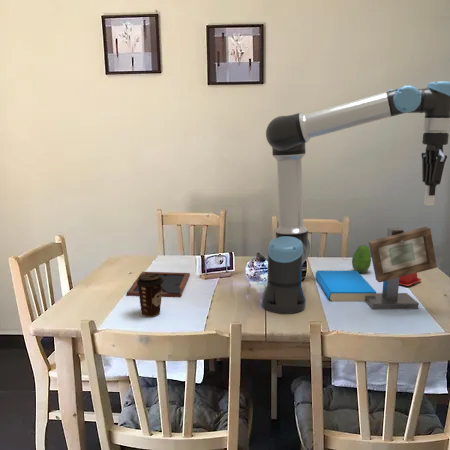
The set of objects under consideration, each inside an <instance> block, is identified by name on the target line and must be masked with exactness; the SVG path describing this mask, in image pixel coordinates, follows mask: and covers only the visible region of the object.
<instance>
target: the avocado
mask: <svg viewBox="0 0 450 450" xmlns="http://www.w3.org/2000/svg"><path fill="white" fill-rule="evenodd" d="M371 263H372V257H371V252H370V247H369V246H367V245H365V244H362V245H358V247H357V248H356V250H355V252H354V253H353V255H352V259H351V265H352V269H353V271H358V272H359V274H360V273H361V274H362V273H366V272H367V271H368V270H369V269H370V267H371Z"/></svg>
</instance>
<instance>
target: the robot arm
mask: <svg viewBox="0 0 450 450" xmlns="http://www.w3.org/2000/svg"><path fill="white" fill-rule="evenodd" d="M403 114H424V119H423V129H422V130H423V131H424V133H422V145H426V147H425V152H422V153H421V155H420V156H421V160H422V161H421V162H422V163H421V165H422V166H421V167H422V168H421V171H422V172H421V173H422V179H421V180H422V183H424V185H425V187H424V188H425V189H424V199H423V206H435V199H436V191H437V186H438V185H440V184H441V181H442V177H443V172H444V167H445V163H446V162H447V158H448V156H447V154H444V146H446V145H448V144H449V135H450V134H449V133H448V132H449V131H450V81H442V80H441V81H430V82H428V84H427V87H425V88H417V87H415V85H409V84H407V85H403V86H400V87H398V88H393V89H392V88H391V89H388V90H387V91H385V92H381V93H376V94H374V95H371V96H367V97H363V98H361V99H357V100H352V101H349V102H345V103H342V104H339V105H335V106H330V107H327V108H325V109H321V110H317V111H313V112H310V113H307V114H304V113H302V112H298V113H294V114H289V115H288V114H287V115H279V116H277V117H275V118H273V119H271V121H270V122H269V123H268V125H267V126H266V130H265V138H266V142H267V143H268V145H270V147H271V150H272V152H271V153H272V157H273V158H274V159H275V160H276V165H277V167H276V168H277V188H278V210H279V211H278V215H279V226H278V227H277V228H276V230H275V237H274V238H272V239H271V240H270V241H269V244H268V248H267V284H266V286H265V288H264V291H263V295H262V297H261V306H262V307H263V309H265V310H267V311H269V312H271V313H276V314H284V313H289V314H296V313H295V312H297V313H300V312H302V311H304V310H305V309H306V305H307V304H306V303H307V302H306V298H305V295H304V289H303V286H302V275H303V274H302V273H303V265H304V263H305V261H306V260H307V259H308V257H309V255H310V252H311V243H310V239H309V229H308V227H306V226H305V225H304V207H303V206H304V203H303V199H304V198H303V197H304V196H303V176H302V175H303V171H302V170H303V169H302V168H303V167H302V166H303V165H302V160H303V158H304V157H305V156H306V143H309V141H310V140H311V139H313V138H315V137H320V136H323V135H326V134H330V133H335V132H339V131H341V130H346V129H350V128H353V127H354V128H355V127H358V126H360V125H364V124H368V123H369V124H370V123H371V122H375V121H380V120H383V119H387V118H392V117H395V116H399V115H403ZM304 308H305V309H304ZM303 309H304V310H303ZM299 311H300V312H299Z"/></svg>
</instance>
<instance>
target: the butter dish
mask: <svg viewBox="0 0 450 450" xmlns="http://www.w3.org/2000/svg"><path fill="white" fill-rule="evenodd" d="M421 281H422V278H419V277H418V273H414V274H410V275H406V276H403V277H399V285H401V286H406V287H408V286H412V285H413V284H417V283H418V282H419V283H420V282H421Z"/></svg>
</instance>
